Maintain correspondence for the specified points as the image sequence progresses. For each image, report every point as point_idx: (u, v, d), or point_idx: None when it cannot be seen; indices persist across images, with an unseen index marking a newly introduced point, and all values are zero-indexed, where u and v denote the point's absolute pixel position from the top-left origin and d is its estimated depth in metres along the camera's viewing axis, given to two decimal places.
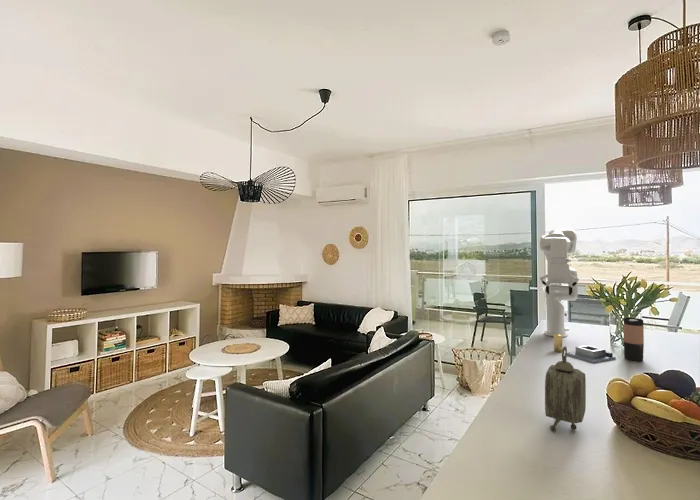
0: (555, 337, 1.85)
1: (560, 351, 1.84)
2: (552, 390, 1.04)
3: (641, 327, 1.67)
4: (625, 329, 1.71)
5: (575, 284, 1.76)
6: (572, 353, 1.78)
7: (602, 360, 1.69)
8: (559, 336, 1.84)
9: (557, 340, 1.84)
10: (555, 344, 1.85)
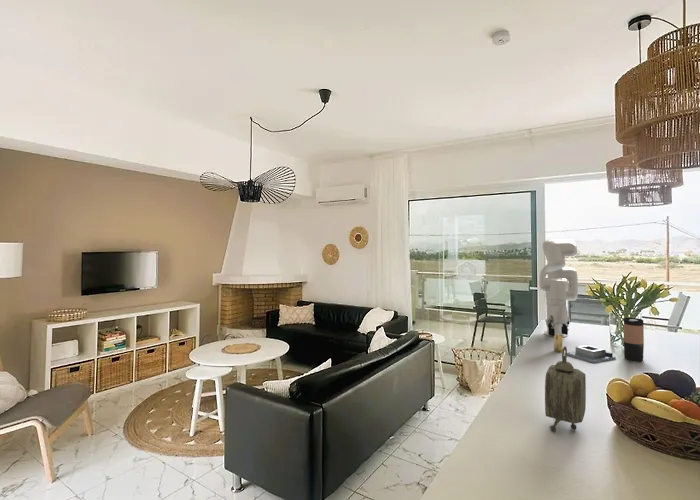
0: (555, 337, 1.85)
1: (560, 351, 1.84)
2: (552, 390, 1.04)
3: (641, 327, 1.67)
4: (625, 329, 1.71)
5: (568, 323, 1.87)
6: (572, 353, 1.78)
7: (602, 360, 1.69)
8: (559, 336, 1.84)
9: (557, 340, 1.84)
10: (555, 344, 1.85)
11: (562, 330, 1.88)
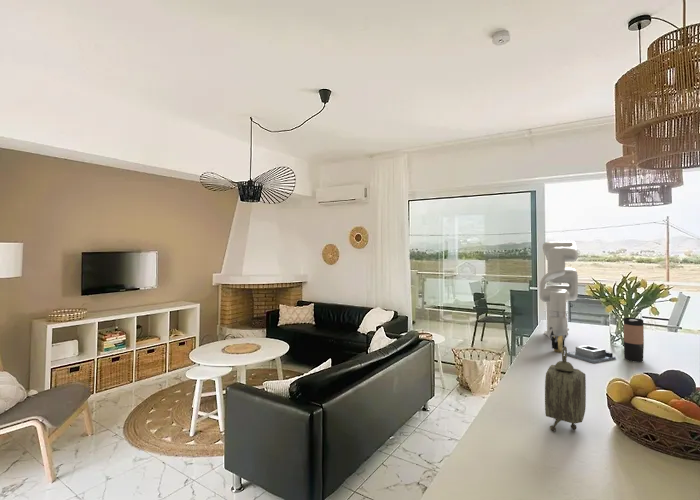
0: None
1: (560, 351, 1.84)
2: (552, 390, 1.04)
3: (641, 327, 1.67)
4: (625, 329, 1.71)
5: (565, 337, 1.87)
6: (572, 353, 1.78)
7: (602, 360, 1.69)
8: (559, 336, 1.84)
9: (557, 340, 1.84)
10: None
11: None
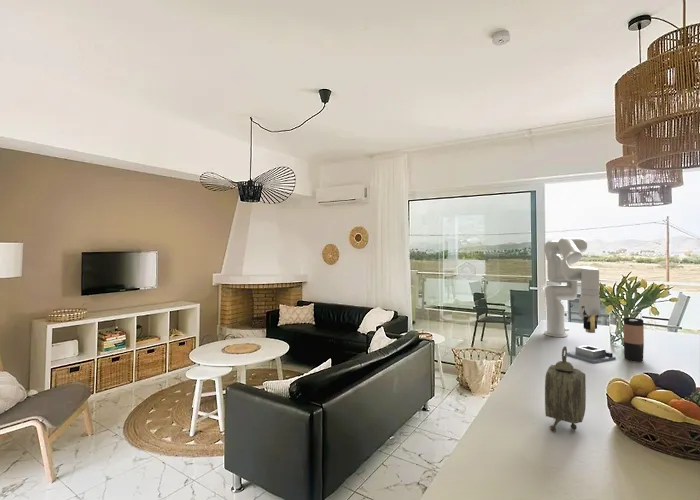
0: None
1: (593, 331, 1.74)
2: (552, 390, 1.04)
3: (641, 327, 1.67)
4: (625, 329, 1.71)
5: (597, 317, 1.77)
6: (572, 353, 1.78)
7: (602, 360, 1.69)
8: (592, 315, 1.74)
9: (590, 320, 1.74)
10: None
11: None
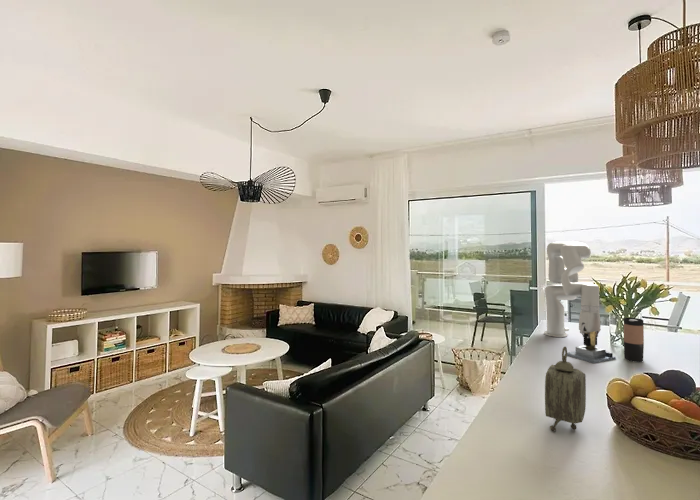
0: (587, 333, 1.75)
1: (593, 348, 1.74)
2: (552, 390, 1.04)
3: (641, 327, 1.67)
4: (625, 329, 1.71)
5: None
6: (572, 353, 1.78)
7: (602, 360, 1.69)
8: (592, 332, 1.74)
9: (590, 336, 1.74)
10: None
11: None
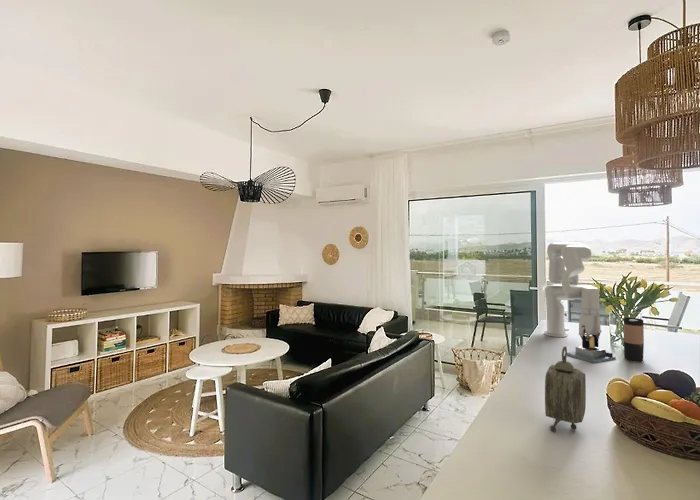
0: None
1: None
2: (552, 390, 1.04)
3: (641, 327, 1.67)
4: (625, 329, 1.71)
5: (599, 335, 1.77)
6: (572, 353, 1.78)
7: (602, 360, 1.69)
8: (591, 338, 1.75)
9: (589, 342, 1.75)
10: None
11: None
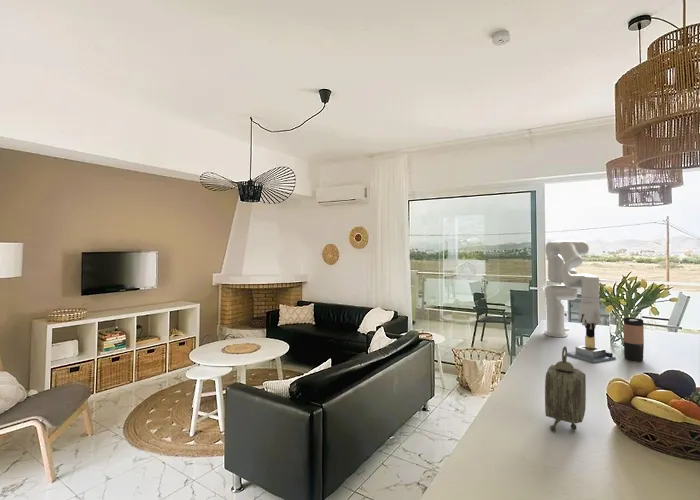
0: (587, 339, 1.75)
1: None
2: (552, 390, 1.04)
3: (641, 327, 1.67)
4: (625, 329, 1.71)
5: (595, 325, 1.76)
6: (572, 353, 1.78)
7: (602, 360, 1.69)
8: (591, 338, 1.74)
9: (589, 343, 1.74)
10: (587, 347, 1.75)
11: None
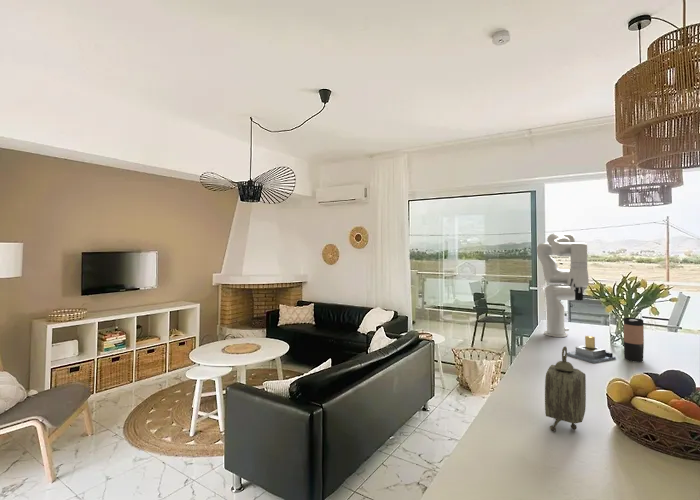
0: (587, 339, 1.75)
1: None
2: (552, 390, 1.04)
3: (641, 327, 1.67)
4: (625, 329, 1.71)
5: (583, 289, 1.87)
6: (572, 353, 1.78)
7: (602, 360, 1.69)
8: (591, 338, 1.74)
9: (589, 343, 1.74)
10: (587, 347, 1.75)
11: None
